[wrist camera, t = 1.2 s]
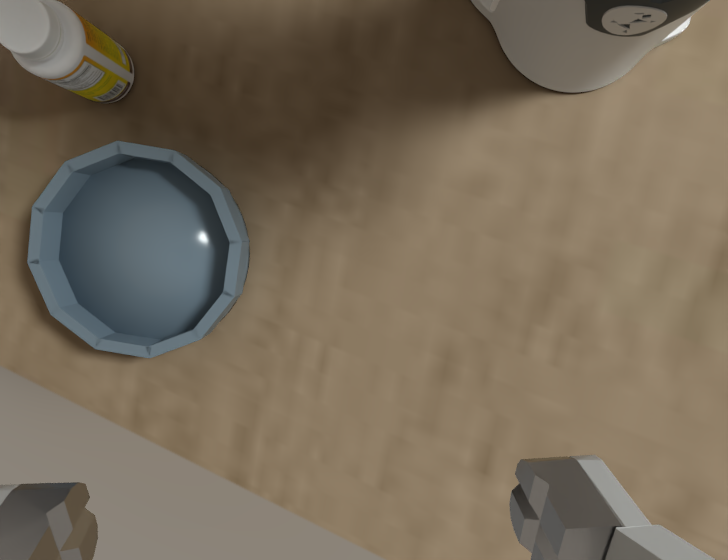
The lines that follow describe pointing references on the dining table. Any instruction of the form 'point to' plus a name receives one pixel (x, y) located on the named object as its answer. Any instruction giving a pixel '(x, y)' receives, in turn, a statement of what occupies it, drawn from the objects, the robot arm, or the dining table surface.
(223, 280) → the slate dish
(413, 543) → the dining table surface
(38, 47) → the supplement bottle
